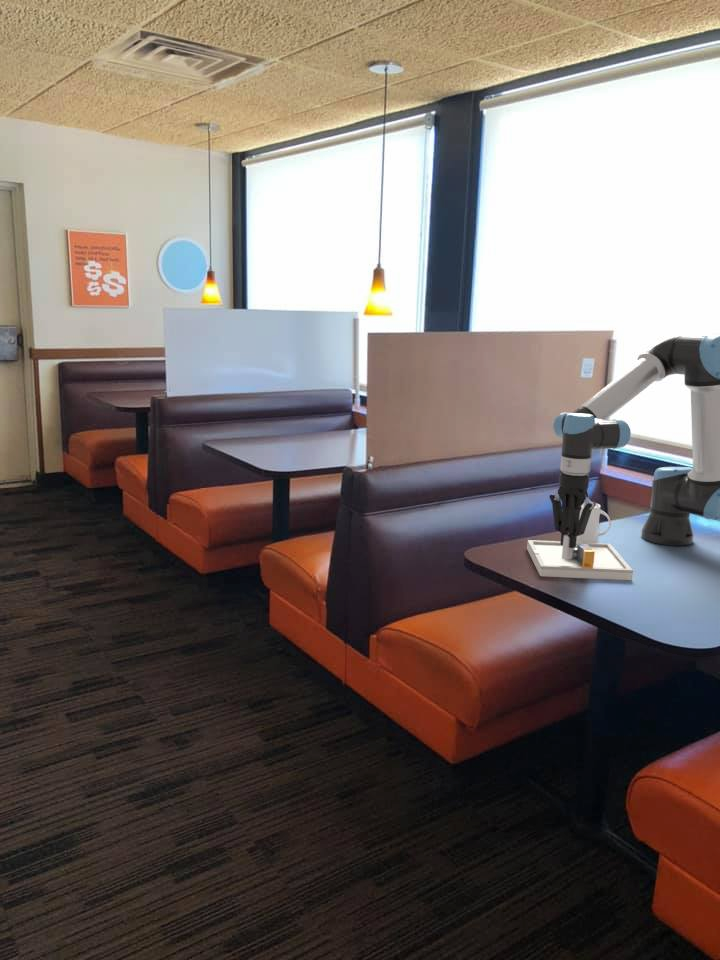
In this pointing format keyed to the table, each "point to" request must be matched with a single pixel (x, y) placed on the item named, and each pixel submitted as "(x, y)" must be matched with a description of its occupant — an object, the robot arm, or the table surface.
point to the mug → (592, 526)
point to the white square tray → (553, 565)
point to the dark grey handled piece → (584, 554)
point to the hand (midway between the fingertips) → (566, 558)
